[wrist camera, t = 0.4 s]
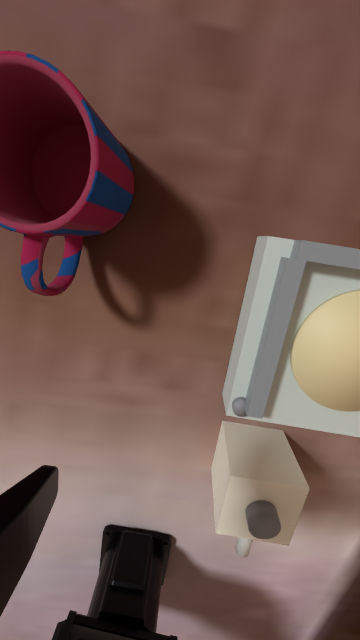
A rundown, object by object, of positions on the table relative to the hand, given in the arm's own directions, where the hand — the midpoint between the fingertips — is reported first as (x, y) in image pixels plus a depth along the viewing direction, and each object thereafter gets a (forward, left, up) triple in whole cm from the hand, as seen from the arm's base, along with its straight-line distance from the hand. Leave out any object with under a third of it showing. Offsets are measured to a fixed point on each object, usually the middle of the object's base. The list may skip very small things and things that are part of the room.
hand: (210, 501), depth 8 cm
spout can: (-10, -5, -13) cm, 18 cm away
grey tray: (+2, -9, -13) cm, 16 cm away
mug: (+8, +10, -13) cm, 18 cm away
